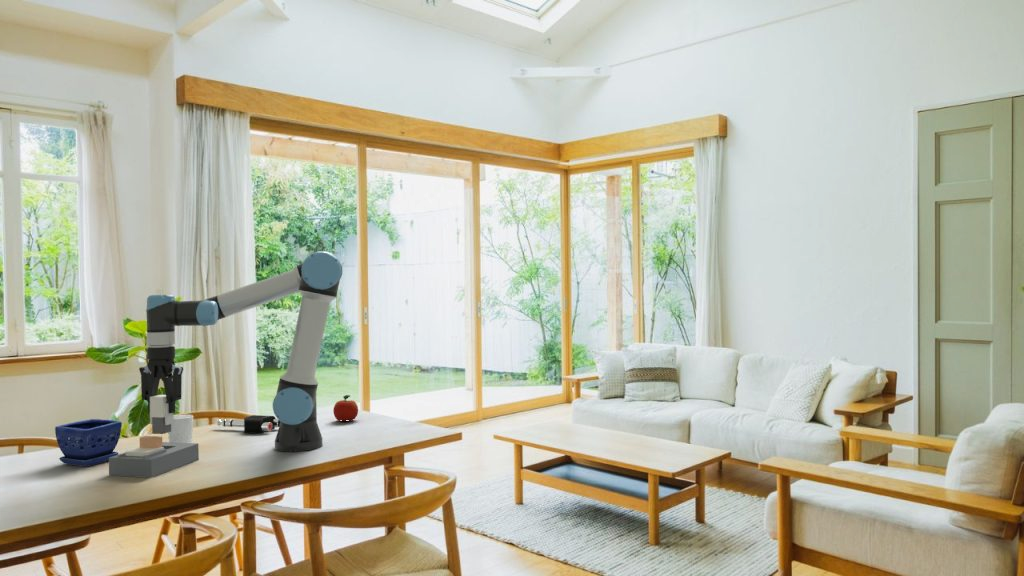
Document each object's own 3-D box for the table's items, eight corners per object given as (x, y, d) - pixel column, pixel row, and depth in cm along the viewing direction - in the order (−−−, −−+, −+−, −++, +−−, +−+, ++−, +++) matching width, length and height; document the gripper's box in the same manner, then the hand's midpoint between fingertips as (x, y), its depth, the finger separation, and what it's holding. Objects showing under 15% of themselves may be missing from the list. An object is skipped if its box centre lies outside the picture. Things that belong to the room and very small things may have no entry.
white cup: (183, 449, 226) (182, 419, 226) (162, 448, 227) (161, 418, 227) (198, 444, 234) (198, 414, 234) (178, 443, 235) (177, 414, 235)
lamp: (266, 420, 247) (205, 418, 253) (266, 435, 247) (206, 432, 253) (283, 414, 258) (224, 412, 264) (283, 428, 258) (224, 426, 264)
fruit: (329, 423, 267) (328, 397, 267) (339, 418, 276) (339, 393, 276) (352, 423, 265) (352, 397, 265) (361, 418, 275) (361, 393, 275)
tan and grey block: (163, 450, 202) (163, 436, 202) (146, 456, 196) (146, 442, 196) (143, 450, 204) (143, 435, 204) (125, 455, 197) (125, 441, 197)
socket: (198, 459, 212) (198, 440, 212) (151, 477, 193) (151, 456, 193) (159, 457, 215) (158, 439, 215) (109, 475, 196) (108, 454, 195)
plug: (163, 434, 204) (162, 397, 204) (150, 433, 205) (149, 396, 205) (173, 431, 208) (173, 395, 208) (160, 430, 209) (160, 394, 209)
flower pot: (124, 458, 215) (124, 420, 215) (85, 469, 203) (85, 428, 203) (92, 455, 219) (92, 418, 219) (53, 466, 207) (52, 426, 207)
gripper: (194, 345, 208) (195, 422, 208) (145, 344, 212) (145, 420, 212) (177, 347, 201) (178, 427, 201) (126, 346, 205) (127, 425, 205)
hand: (161, 423), depth 207 cm, fingers closed on plug, 4 cm apart
